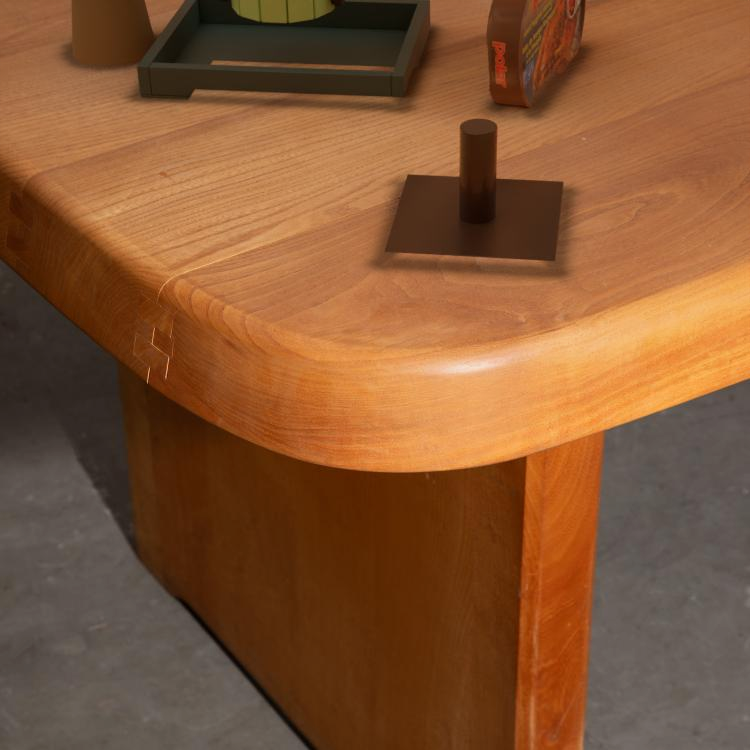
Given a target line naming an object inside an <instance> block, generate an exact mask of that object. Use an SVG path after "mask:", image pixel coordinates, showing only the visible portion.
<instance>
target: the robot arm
mask: <svg viewBox="0 0 750 750" xmlns="http://www.w3.org/2000/svg"><path fill="white" fill-rule="evenodd" d="M219 1H220V2H228V0H219ZM344 2H345V0H331V4H334V6H343V4H344Z"/></svg>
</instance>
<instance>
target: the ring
mask: <svg viewBox="0 0 750 750" xmlns="http://www.w3.org/2000/svg"><path fill="white" fill-rule="evenodd" d="M231 3H232V8H233V9H234V10H235V11H236V13H237V14H238V15H239V16H240V15H241V16H242V17H245V18H248V19H252V20H255V21H258V22H260V21H262V22H270V23H287V21H288V22H289V23H293V22H300V21H306V20H312V19H314V18H318V17H321V16H323V15H325V14H327V13H329V12H331V11H332V10H334V8H335V6H334V4H331V0H231Z"/></svg>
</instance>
